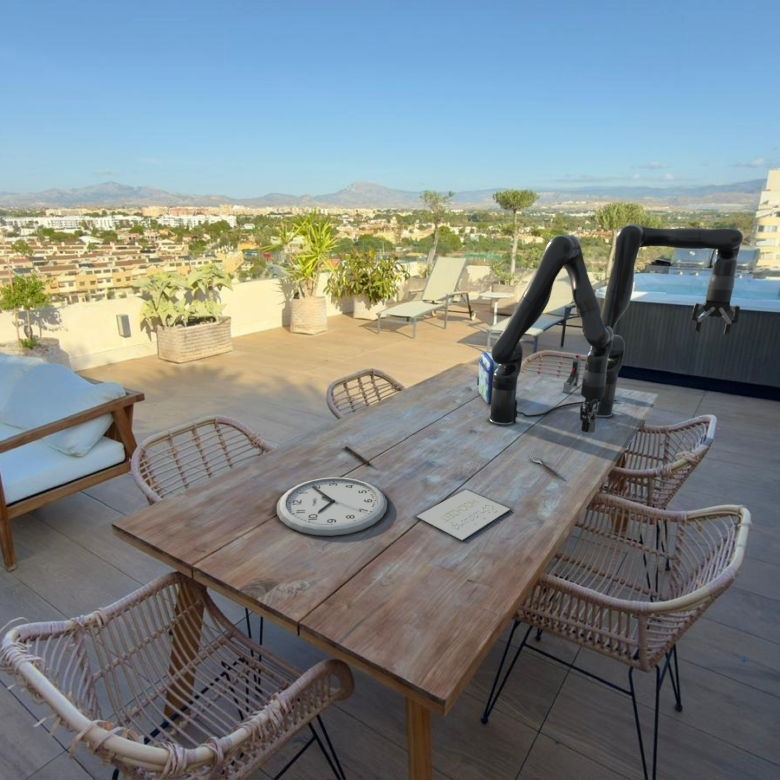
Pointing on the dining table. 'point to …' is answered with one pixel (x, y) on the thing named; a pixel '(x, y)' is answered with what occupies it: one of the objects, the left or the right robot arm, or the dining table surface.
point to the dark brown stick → (357, 455)
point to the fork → (541, 463)
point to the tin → (590, 426)
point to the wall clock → (331, 506)
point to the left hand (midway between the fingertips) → (587, 429)
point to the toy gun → (573, 375)
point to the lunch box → (486, 376)
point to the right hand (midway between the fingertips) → (711, 333)
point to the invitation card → (463, 514)
